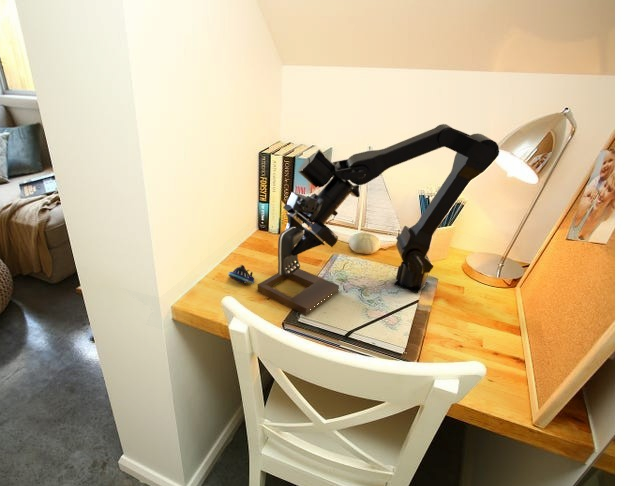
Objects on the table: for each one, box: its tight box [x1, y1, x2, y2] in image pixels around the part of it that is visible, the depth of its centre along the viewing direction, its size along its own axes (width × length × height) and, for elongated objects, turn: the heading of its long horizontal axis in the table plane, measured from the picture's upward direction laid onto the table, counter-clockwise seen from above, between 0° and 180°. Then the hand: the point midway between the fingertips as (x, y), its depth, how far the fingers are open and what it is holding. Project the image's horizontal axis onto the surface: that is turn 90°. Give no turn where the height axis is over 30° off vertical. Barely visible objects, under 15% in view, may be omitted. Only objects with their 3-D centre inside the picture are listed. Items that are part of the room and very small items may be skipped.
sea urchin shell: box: [348, 232, 381, 255], centre depth 123 cm, size 9×8×8 cm
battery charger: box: [277, 227, 304, 276], centre depth 99 cm, size 7×4×11 cm, turn 140°
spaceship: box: [227, 264, 255, 285], centre depth 110 cm, size 7×6×5 cm
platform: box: [257, 268, 340, 317], centre depth 104 cm, size 16×14×2 cm
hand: (286, 249), depth 99 cm, fingers closed on battery charger, 6 cm apart
